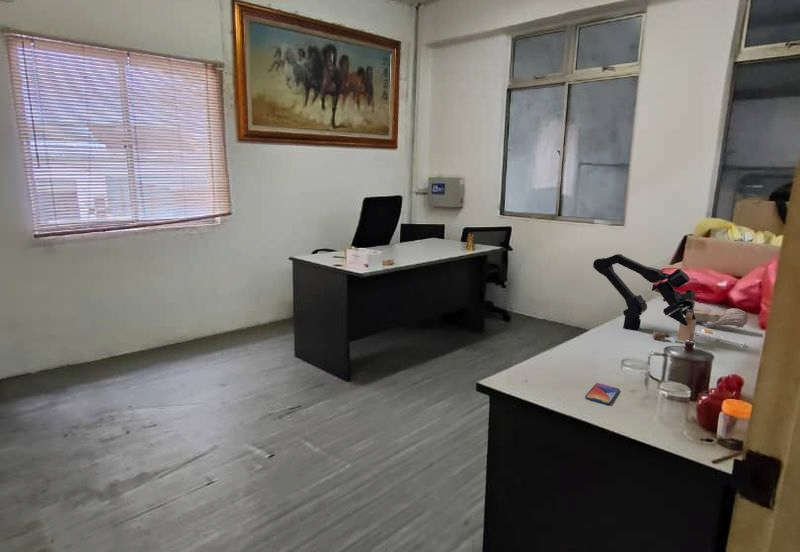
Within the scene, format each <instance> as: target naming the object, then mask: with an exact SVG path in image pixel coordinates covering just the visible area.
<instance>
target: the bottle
mask: <svg viewBox="0 0 800 552" xmlns="http://www.w3.org/2000/svg"><path fill="white" fill-rule="evenodd" d="M686 311H687V312H686V316H684V318H685V320H686V321H687V323H688V325H687V326H685V325H683V324H682V323H680V322H679V327H678V334H677V337H678V338H677V339H678V340H681V341H686V340H689V341H693V339H694V335H695V332H696V327H697V325H696V324H697V322H696V320H695V319H692V316H693V312H694V310H693V309H686Z"/></svg>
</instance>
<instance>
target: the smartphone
mask: <svg viewBox="0 0 800 552" xmlns="http://www.w3.org/2000/svg"><path fill="white" fill-rule="evenodd" d="M619 392H620V388H618V387H615V386H612V385H607V384H603V383H595V385H593V386H592V387H591V388H590V390H589V391H588V392H587V393H586V395H584V399H585V400H587V401H590V402H595V403H598V404H601V405H604V406H605V405H606V406H610V405H611V404H612V403H613V401H614V399H615V398H616V397H617V396H618V394H619Z"/></svg>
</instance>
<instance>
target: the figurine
mask: <svg viewBox="0 0 800 552" xmlns="http://www.w3.org/2000/svg"><path fill="white" fill-rule="evenodd" d="M693 310H694V315H695V318H696V320H697V322H696V323H701V324H702V325H703V326H704V327H705V328H707V329H708V328H717V327H721V326H722V327H723V326H731V327H733V326H734V327H735V328H744V326H745V325H746V324H747V322H748V321H749V317H748V316H749V315H748V313H746V312H745V311H744V310H742V309H739V308H728V309H726V310H722V309H720V310H719V309H718V310H716V309H715V310H711V309H710V308H703V307H702V308H701V307H696V306H694V308H693ZM708 322H709V323H708Z"/></svg>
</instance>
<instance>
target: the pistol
mask: <svg viewBox="0 0 800 552" xmlns="http://www.w3.org/2000/svg"><path fill="white" fill-rule="evenodd" d="M694 335H695V336H699V337H700V338H701V339H706V340H710V341H714V342H719V343H723V344H728V345H732V346H736V347H741V346H743V347H741V348H745V347H746V346H747V343H746V342H743V341H740V340H734V339H730V338H725V336H722V335H717V334H715V333H714V332H713V331H712V330H709V329H701V331H698V330H697V331H695V332H694ZM744 346H745V347H744Z"/></svg>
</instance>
